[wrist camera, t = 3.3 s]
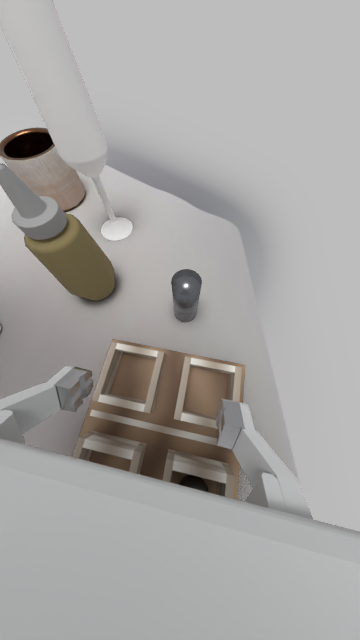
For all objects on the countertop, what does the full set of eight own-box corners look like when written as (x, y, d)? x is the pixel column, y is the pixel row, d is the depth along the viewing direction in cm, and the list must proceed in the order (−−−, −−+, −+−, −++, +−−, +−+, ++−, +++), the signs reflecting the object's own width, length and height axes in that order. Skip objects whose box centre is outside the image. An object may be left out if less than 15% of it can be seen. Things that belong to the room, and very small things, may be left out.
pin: (170, 309, 29) (165, 278, 21) (187, 298, 30) (190, 264, 21) (182, 325, 28) (182, 300, 19) (200, 314, 29) (207, 285, 20)
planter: (58, 178, 42) (24, 122, 33) (95, 188, 40) (71, 133, 32) (28, 206, 39) (-18, 152, 30) (68, 219, 37) (31, 166, 28)
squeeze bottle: (126, 270, 32) (63, 142, 15) (114, 309, 29) (22, 205, 12) (84, 266, 32) (-21, 138, 16) (69, 304, 30) (-80, 197, 13)
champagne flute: (104, 216, 37) (-16, -42, 15) (134, 217, 37) (60, -44, 14) (97, 240, 35) (-58, -26, 12) (130, 241, 34) (34, -28, 12)
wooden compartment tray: (60, 503, 20) (-50, 610, 11) (115, 341, 27) (79, 317, 18) (230, 551, 18) (281, 729, 9) (242, 365, 25) (278, 354, 16)
